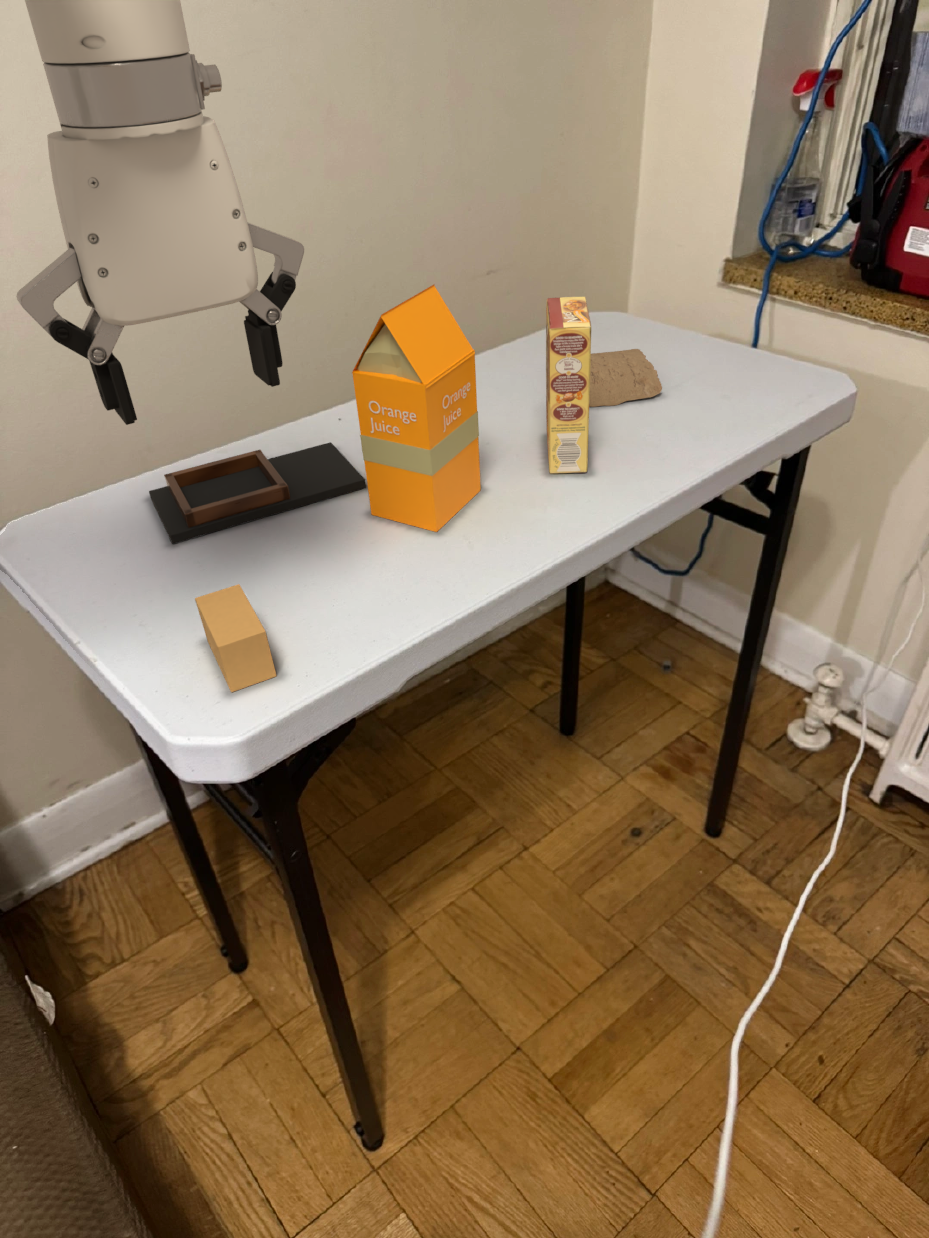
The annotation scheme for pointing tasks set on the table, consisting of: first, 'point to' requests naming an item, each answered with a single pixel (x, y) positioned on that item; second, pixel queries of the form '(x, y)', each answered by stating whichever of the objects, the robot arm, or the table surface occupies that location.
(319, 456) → the back pad
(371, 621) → the table surface
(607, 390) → the clay tablet
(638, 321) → the table surface
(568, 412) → the candy box
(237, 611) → the brown block
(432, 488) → the orange juice
